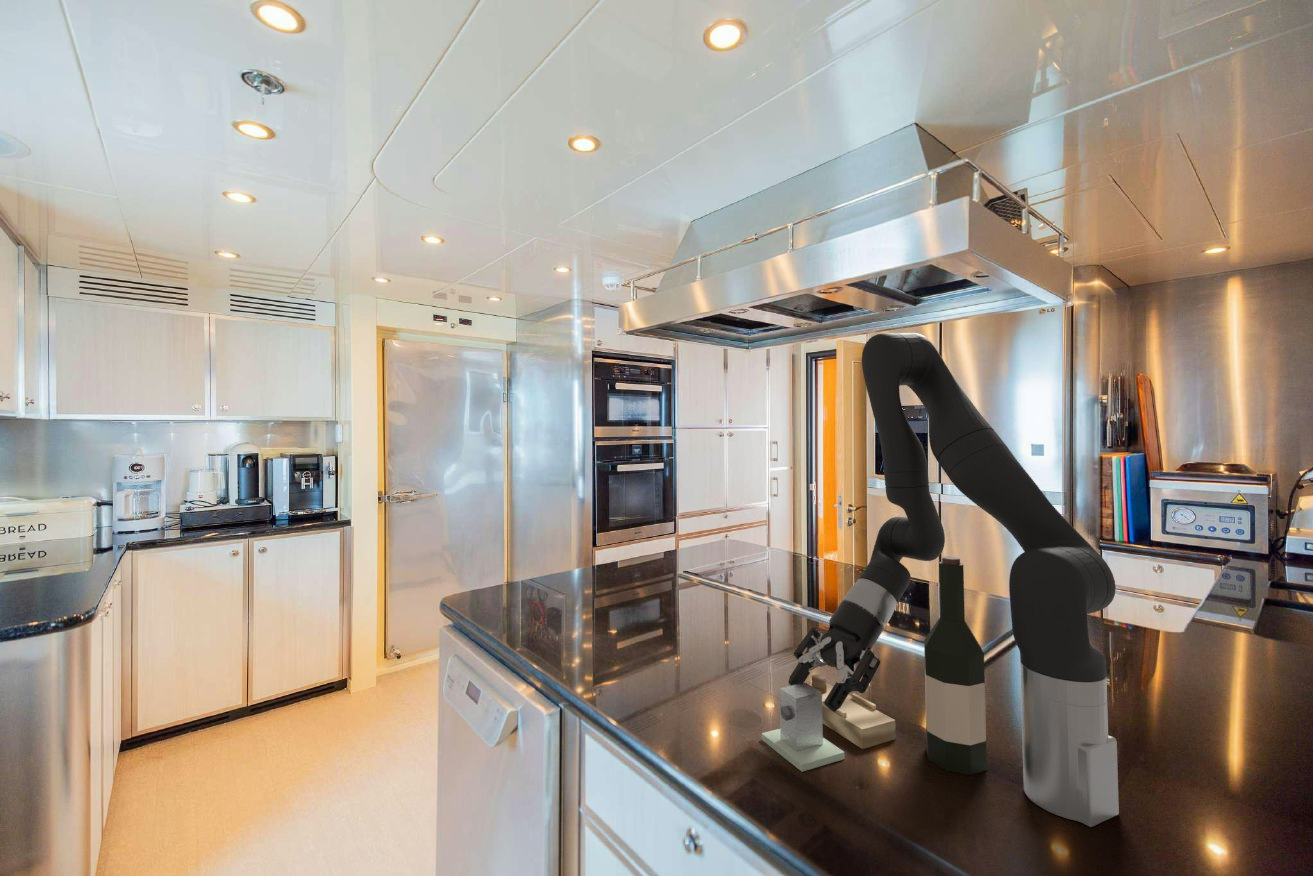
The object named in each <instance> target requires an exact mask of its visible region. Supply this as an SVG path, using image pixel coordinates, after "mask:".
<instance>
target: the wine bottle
mask: <svg viewBox="0 0 1313 876" xmlns="http://www.w3.org/2000/svg"><path fill="white" fill-rule="evenodd" d="M941 559H942V560H941V561H939V562H938V567H939V569H938V574H939V607H940V609H939V611H940V612H939V613H940V617H939V618H938V619H937V620H936V622H935V624H934V625H933V627H932V628H931V630H930V631H929V633H928V634H927V635H926V637H925V638H924V640H923V646H924V648H923V651H924V689H925V690H924V691H925V693H924V696H925V734H926V735H925V737H926V738H925V740H926V741H925V742H926V755H927V760H928V761H930V762H932V763H934V764H935V765H936V766H938V767H940V768H941V769H943V770H944V771H948V772H953V773H958V774H963V775H969V776H973V775H976V774H979V773H983V772H986V771H988V764H987V762H988V759H987V758H988V757H987V723H986V722H987V721H986V717H987V716H986V715H987V714H986V682H985V681H986V680H985V674H986V673H985V653H984V650H983V649H982V646H981V645H980V643H979V641H978V640H977V638H976V637H975V635H974V633H973V631H972V629H971V628H970V627H969V625H968V624H967V622H966V617H965V614H966V613H965V611H966V610H965V581H964V580H965V579H964V578H965V576H964V575H965V572H964V564H963V563H962V562H961V558H960V557H958V556H948V555H947V556H942V557H941Z"/></svg>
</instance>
